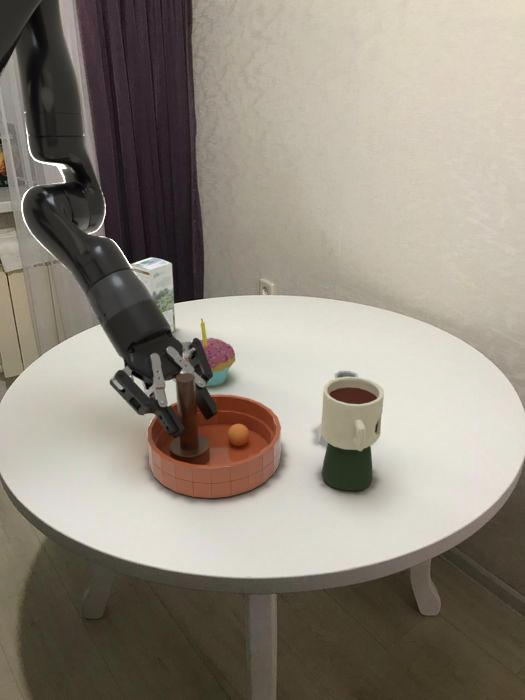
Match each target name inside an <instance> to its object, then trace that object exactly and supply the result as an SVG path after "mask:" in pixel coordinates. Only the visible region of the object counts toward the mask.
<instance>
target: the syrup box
mask: <svg viewBox="0 0 525 700" xmlns="http://www.w3.org/2000/svg"><path fill="white" fill-rule="evenodd" d="M129 264H130V266H131V267H132V269H133V271H134V272H135V274H136V275H137V276H138V277H139V278H140V280H141V281H142V282H143V283H144V285H145V286H146V288H147V289H148V291H149V293H150V294H151V296H152V297H153V299H154V301H155V302H156V304H157V305H158V307H159V309H160V310H161V312H162V314H163V315H164V317H165V318H166V320H167V322H168V323H169V325H170V328H171V332H172V333H174V332H176V317H175V316H176V315H175V295H174V276H173V263H172V262H170V261H167V260H165V259H162V258H157V257H148V258H145V259H142V260H139V261H136V262H133V263H129Z"/></svg>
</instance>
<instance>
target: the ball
mask: <svg viewBox="0 0 525 700" xmlns="http://www.w3.org/2000/svg"><path fill="white" fill-rule="evenodd" d="M227 436H228V440H229V442H230V443H231V444H233V445H235V446H242V445H244V444H245V443H247V441H248V439H249V430H248V429H247V427H246V426H244V425H242V424H235V425H233V426H231V427H230V428H229V430H228V433H227Z"/></svg>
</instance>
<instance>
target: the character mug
mask: <svg viewBox="0 0 525 700" xmlns="http://www.w3.org/2000/svg"><path fill="white" fill-rule="evenodd" d="M384 397H385V392H384V389H383V387H382V386H381V385H379V384H378V383H377V382H374V381H373V380H370V379H367V378H362V377H359V376H358V377H340V378H336V379H335V378H333V379H331V380H329V381H328V382H326V383H325V385H324V386H323V390H322V408H321V410H322V411H321V423H322V427H321V435H322V437H323V438H324V440H325V441H326V442H328V444H327V446H326V450H325V454H324V458H323V462H322V463H323V464H322V470H321V475H322V479H323V481H324V482H325V483H326V484H327V485H328V486H330V487H333V488H336V489H339V490H344V491H364V490H365V489H366V488H368V487H369V486H370V485H371V483H372V481H373V460H372V459H373V458H372V448H371V447H372V445H374V444H375V443H376V442H377V441H378V440H379V438H380V437H381V428H382V427H381V426H382V414H383V407H384Z"/></svg>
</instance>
